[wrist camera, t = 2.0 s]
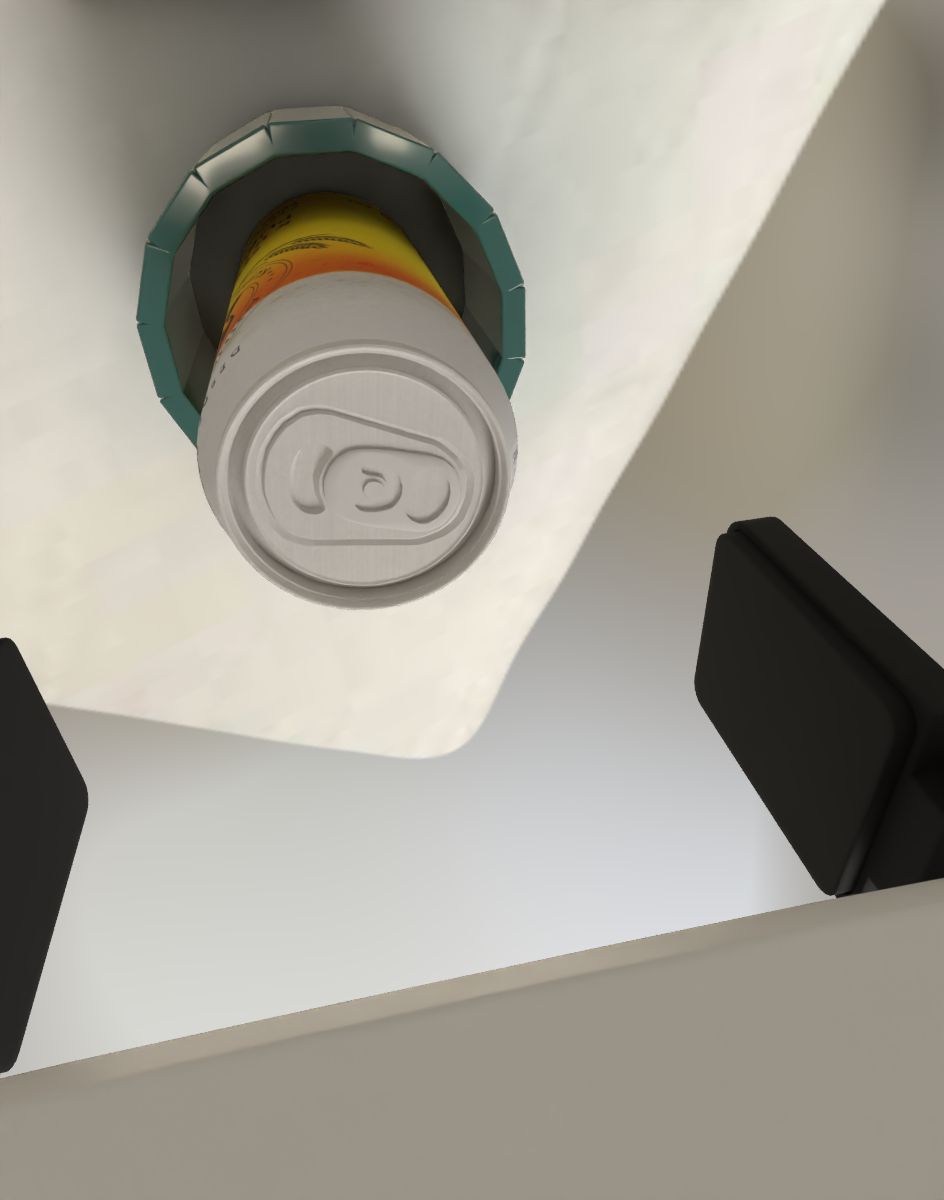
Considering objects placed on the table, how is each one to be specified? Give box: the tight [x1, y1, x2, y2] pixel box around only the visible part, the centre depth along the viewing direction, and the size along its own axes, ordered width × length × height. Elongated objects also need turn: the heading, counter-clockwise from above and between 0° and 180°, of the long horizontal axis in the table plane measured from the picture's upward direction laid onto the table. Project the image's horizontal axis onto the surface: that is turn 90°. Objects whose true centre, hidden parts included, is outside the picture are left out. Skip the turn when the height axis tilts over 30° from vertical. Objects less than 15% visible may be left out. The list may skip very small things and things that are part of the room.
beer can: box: [197, 192, 518, 610], centre depth 20 cm, size 6×6×15 cm
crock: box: [136, 105, 526, 449], centre depth 23 cm, size 10×10×6 cm
